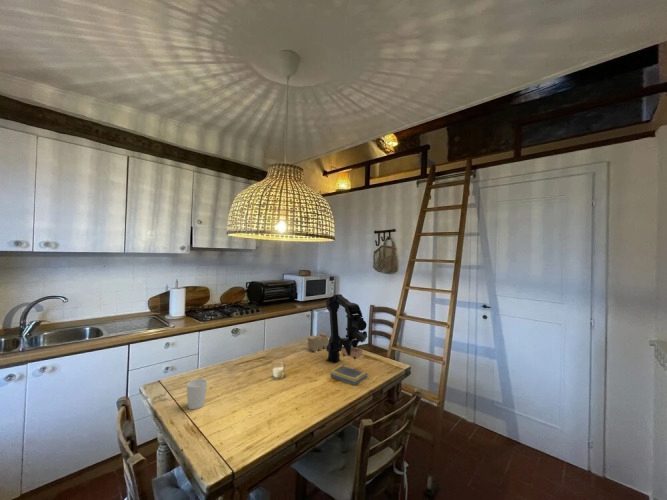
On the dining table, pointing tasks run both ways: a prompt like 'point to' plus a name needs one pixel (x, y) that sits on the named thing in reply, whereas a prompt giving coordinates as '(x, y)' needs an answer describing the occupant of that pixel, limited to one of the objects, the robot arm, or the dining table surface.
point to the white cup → (196, 393)
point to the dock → (348, 375)
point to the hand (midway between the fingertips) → (351, 353)
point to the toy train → (317, 342)
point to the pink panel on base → (352, 352)
